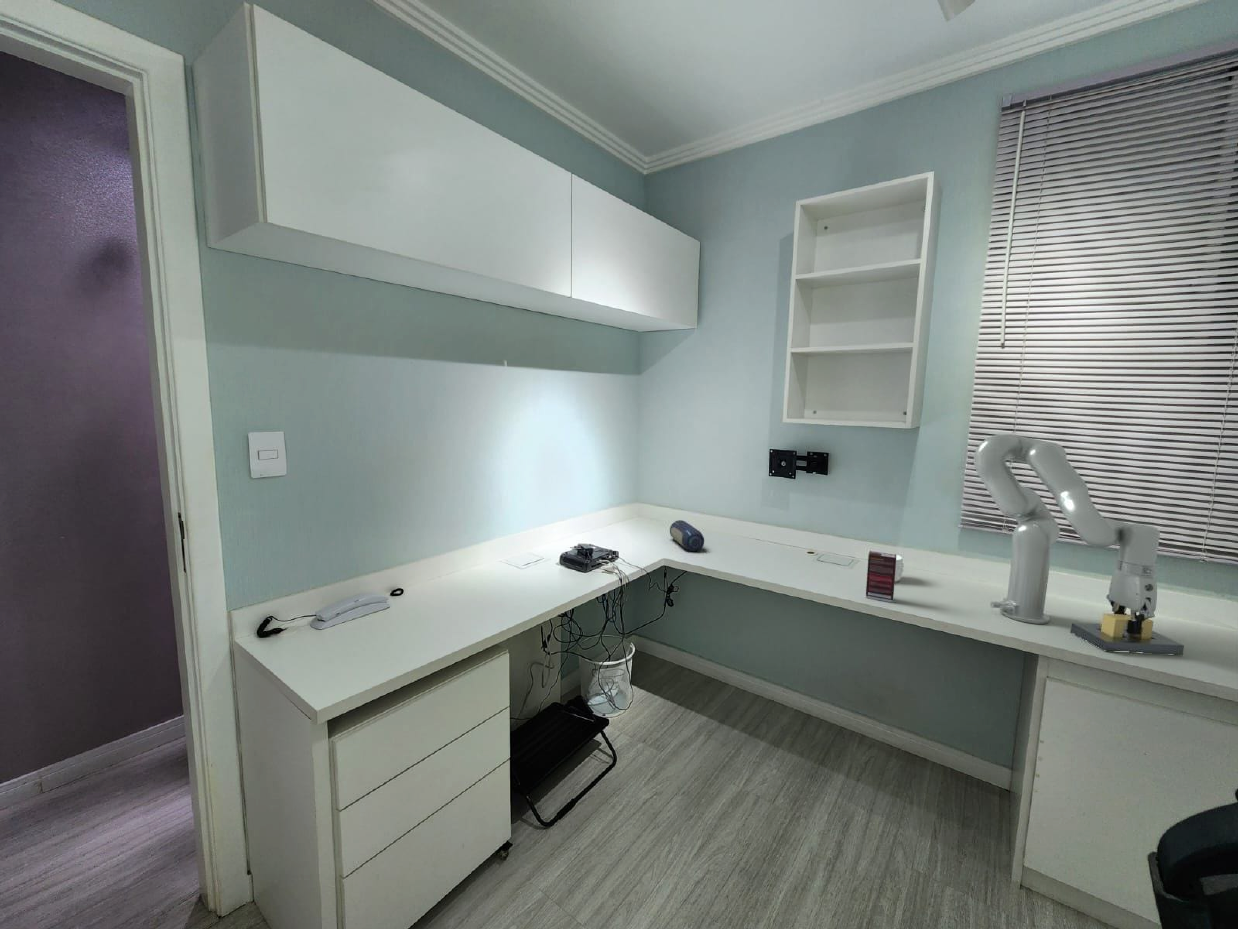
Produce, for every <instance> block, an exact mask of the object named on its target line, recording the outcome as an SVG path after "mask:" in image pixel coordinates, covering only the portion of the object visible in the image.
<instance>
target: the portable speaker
mask: <svg viewBox="0 0 1238 929" xmlns="http://www.w3.org/2000/svg"><path fill="white" fill-rule="evenodd" d="M669 534H670V537H671V538H672V540H675V542H677V543H679V545H681V546H682V547H683V548H684V549H686V550H687V551H691V552H696V551H700V550H701V549H702V548H703V546H704V544H705V536H704V535H703V533H702V532H701V531H700V530H699V529H697V528H695V527H694V526H693V525H692V524H690V523H688V522H687V521H686V520H685V521H684V520H682V519H681V520H679V519H678V520H675V521H673V523H672V524H671V525H670V527H669Z"/></svg>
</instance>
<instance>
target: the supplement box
mask: <svg viewBox="0 0 1238 929" xmlns="http://www.w3.org/2000/svg"><path fill="white" fill-rule="evenodd" d="M889 553H890V552H882V551H881V552H880V551H875V550H874V551H873V550H870V551H869V552H868V555H867V557H868V558H867V571H866V572H867V573H866V587H865V598H866V599H871V600H876V601H877V600H878V601H884V602H888V603H893V602H894V593H895V583H896V582H895V569H896V555H897V553H896V554H895V553H891V554H889Z"/></svg>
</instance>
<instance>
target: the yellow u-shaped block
mask: <svg viewBox="0 0 1238 929" xmlns="http://www.w3.org/2000/svg"><path fill="white" fill-rule="evenodd" d="M1128 620H1131V614H1127V615H1123V614H1114V613H1103V614H1102V620H1101V624H1102V627H1101V631H1102V632H1104V633H1106V634H1107V635H1109V636H1111V637H1121V638H1122V636H1123V630H1124V627H1128ZM1153 628H1154V620H1152V619H1151V618H1148V619H1146V620H1145V621H1144V622H1142V627H1141V633H1140V634H1133V635H1135V636H1137V637H1139V638H1141V639H1151V634H1152V631H1153Z"/></svg>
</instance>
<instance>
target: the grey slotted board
mask: <svg viewBox="0 0 1238 929" xmlns="http://www.w3.org/2000/svg"><path fill="white" fill-rule="evenodd" d="M1070 626H1071V627H1070V633H1071V634H1072V633H1074V634H1075V635H1074V634H1073V635H1074V636H1076V637H1078V638H1079V637H1081V638H1082V639H1081V638H1080V639H1081V640H1083V639H1084V640H1083V641H1085V640H1087V641H1088V642H1089V644H1090V643H1092V644H1094V645H1095V646H1097V647H1099V648H1101V649H1102V650H1106V651H1129V652H1143V653H1150V654H1149V655H1156V654H1174V655H1173V656H1175V655H1183V654H1184V649H1185V645H1184V644H1182V643H1180V642H1178V641H1176V640H1173V639H1172V638H1169V637H1167V636H1166V635H1162V634H1160V633H1158V632H1156V631H1154V630H1152V634H1151V639H1141V638H1139V637H1137V636H1135V635H1133V634H1128V633H1127V627H1124V630H1123V636H1122V638H1121V637H1111V636H1109V635H1107V634H1106V633H1104V632H1102V631H1101V627H1102V623H1101V624H1100V623H1085V622H1084V623H1083V622H1081V623H1079V622H1072V623H1071V625H1070ZM1088 642H1087V643H1088ZM1092 644H1091V645H1092ZM1094 645H1093V646H1094ZM1095 646H1094V647H1095ZM1097 647H1096V648H1097ZM1099 648H1098V649H1099ZM1101 649H1100V650H1101ZM1102 650H1101V651H1102ZM1151 653H1152V654H1151Z"/></svg>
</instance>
